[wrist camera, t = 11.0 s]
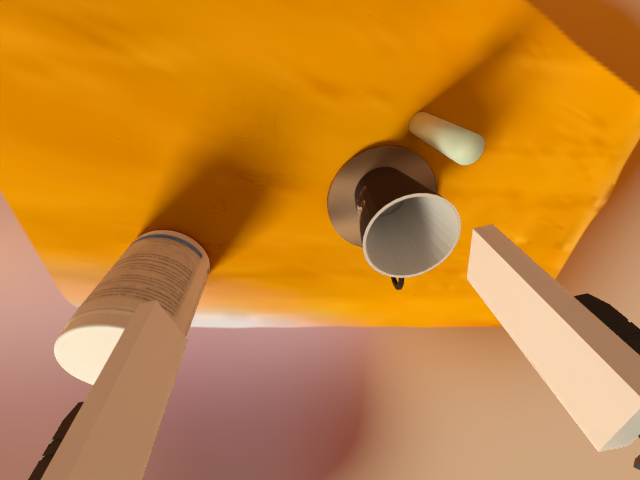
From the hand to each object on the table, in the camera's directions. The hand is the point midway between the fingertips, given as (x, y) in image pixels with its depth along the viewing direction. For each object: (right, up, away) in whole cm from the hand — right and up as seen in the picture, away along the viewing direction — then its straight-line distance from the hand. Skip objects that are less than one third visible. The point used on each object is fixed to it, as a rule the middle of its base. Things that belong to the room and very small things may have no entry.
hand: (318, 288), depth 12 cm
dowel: (+11, +14, +18) cm, 25 cm away
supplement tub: (-19, 0, +25) cm, 31 cm away
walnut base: (+7, +7, +23) cm, 25 cm away
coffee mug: (+7, +6, +22) cm, 24 cm away
